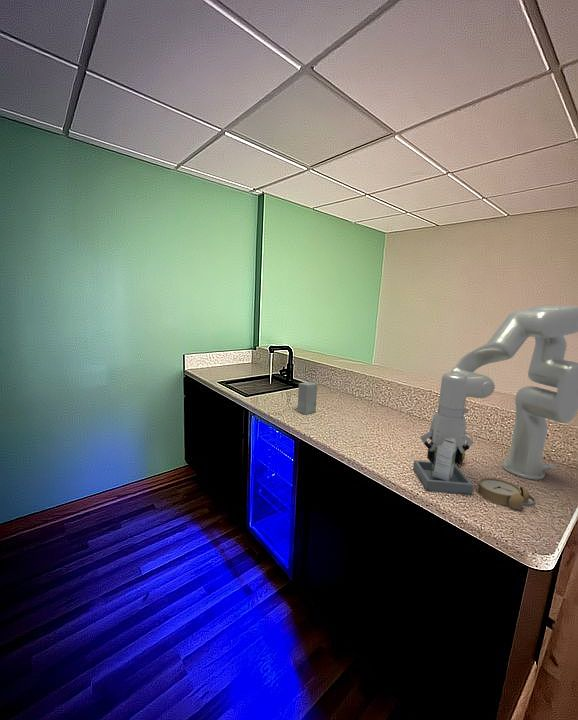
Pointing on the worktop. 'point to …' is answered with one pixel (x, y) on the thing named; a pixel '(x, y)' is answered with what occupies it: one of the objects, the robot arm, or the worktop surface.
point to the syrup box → (444, 459)
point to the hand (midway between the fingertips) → (443, 461)
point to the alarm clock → (504, 493)
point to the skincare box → (307, 397)
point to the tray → (433, 484)
